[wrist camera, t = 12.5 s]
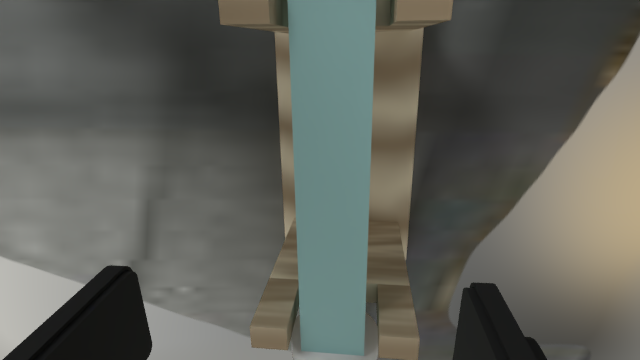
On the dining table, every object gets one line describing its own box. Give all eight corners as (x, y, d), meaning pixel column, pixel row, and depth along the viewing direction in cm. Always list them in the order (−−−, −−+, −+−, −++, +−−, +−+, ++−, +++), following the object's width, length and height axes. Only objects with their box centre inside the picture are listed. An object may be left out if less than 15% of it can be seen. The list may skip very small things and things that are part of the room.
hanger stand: (276, -20, 31) (186, -83, 15) (425, -25, 29) (490, -99, 14) (288, 246, 39) (239, 376, 24) (404, 251, 38) (431, 393, 23)
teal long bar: (285, -52, 21) (254, -87, 15) (394, -57, 20) (406, -96, 14) (299, 315, 29) (283, 380, 24) (376, 321, 29) (379, 388, 23)
